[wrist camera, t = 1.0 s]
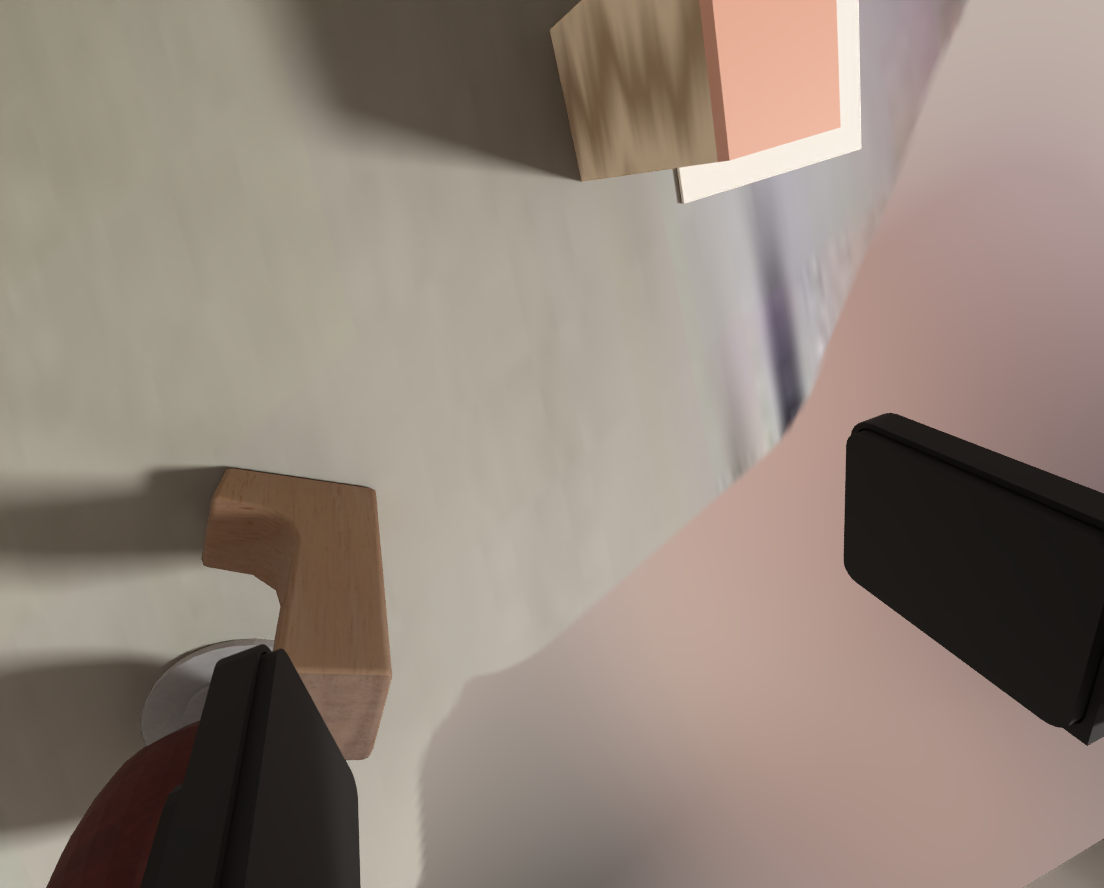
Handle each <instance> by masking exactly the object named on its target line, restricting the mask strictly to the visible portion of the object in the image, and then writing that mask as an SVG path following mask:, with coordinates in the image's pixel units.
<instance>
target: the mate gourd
mask: <svg viewBox="0 0 1104 888" xmlns="http://www.w3.org/2000/svg"><path fill="white" fill-rule="evenodd" d="M260 644H265V645H266V646H268V647H269V648H270V650H271V651H273V646H274V641H272V640H262V639H241V640H232V641H227V642H222V643H217V644H213V645H211V646H208V647H205V648H202V649H199V650H197V651H195V652H193V653H191V654H189V655H188V656H186V657H184V658H182V659H180V660H179V661H178V662H176V663H175V664H174V665H173V666H171V667H170V668H169V669H167V670H166V671H165V672H164V673H163V675H162V676H161V677H160V678H159V679H158V680H157V682H156V683H155V684H154V686H153V688H152V690H151V691H150V693H149V695H148V697H147V699H146V702H145V704H144V707H143V712H142V716H141V733H142V736H143V739H144V742H145V744H146V747H145V748H143V749H142V750H140V751H139V752H138V753H137V754H135V755H134V756H133V757H131V758H130V759H129V760H128V761H126V762H125V763H124V764H123V766H122V767H121V768H120V769H119V770H118V771H117V772H116V774H115V775H114V776H113V777H112V778H111V779H110V781H109V782H108V783H107V785H106V786H105V787H104V788H103V790H102V791H101V792H100V793H99V795H98V796H97V797H96V798H95V800H94V801H93V803H92V804H91V806H90V807H89V809H88V810H87V812H86V814H85V815H84V817H83V818H82V820H81V821H80V823H79V825H78V826H77V828H76V829H75V831H74V832H73V834H72V835H71V837H70V839H69V841H68V843H67V845H66V847H65V849H64V851H63V853H62V854H61V856H60V859H59V861H58V863H57V865H56V867H55V870H54V872H53V874H52V876H51V878H50V881H49V883H48V885H47V887H46V888H140V885H141V882H142V879H143V875H144V872H145V868H146V865H147V861H148V858H149V855H150V851H151V848H152V844H153V841H154V838H155V834H156V831H157V827H158V824H159V820H160V817H161V814H162V810H163V807H164V805H165V802H166V800H167V798H168V795H169V793H170V792H171V791H172V790H173V789H174V788H175V787H176V786H177V785H180V784H182V783H183V782H184V778H185V774H186V771H187V767H188V763H189V760H190V756H191V752H192V748H193V745H194V741H195V737H196V734H197V730H198V726H199V723H200V719H201V715H202V712H203V708H204V704H205V700H206V697H207V693H208V689H209V686H210V682H211V678H212V675H213V671H214V667H215V665H216V663H217V662H218V661H219V660H220V659H222V658H225V657H228V656H230V655H233V654H236V653H239V652H241V651H244V650H247V649H249V648H252V647H255V646H258V645H260Z"/></svg>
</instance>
